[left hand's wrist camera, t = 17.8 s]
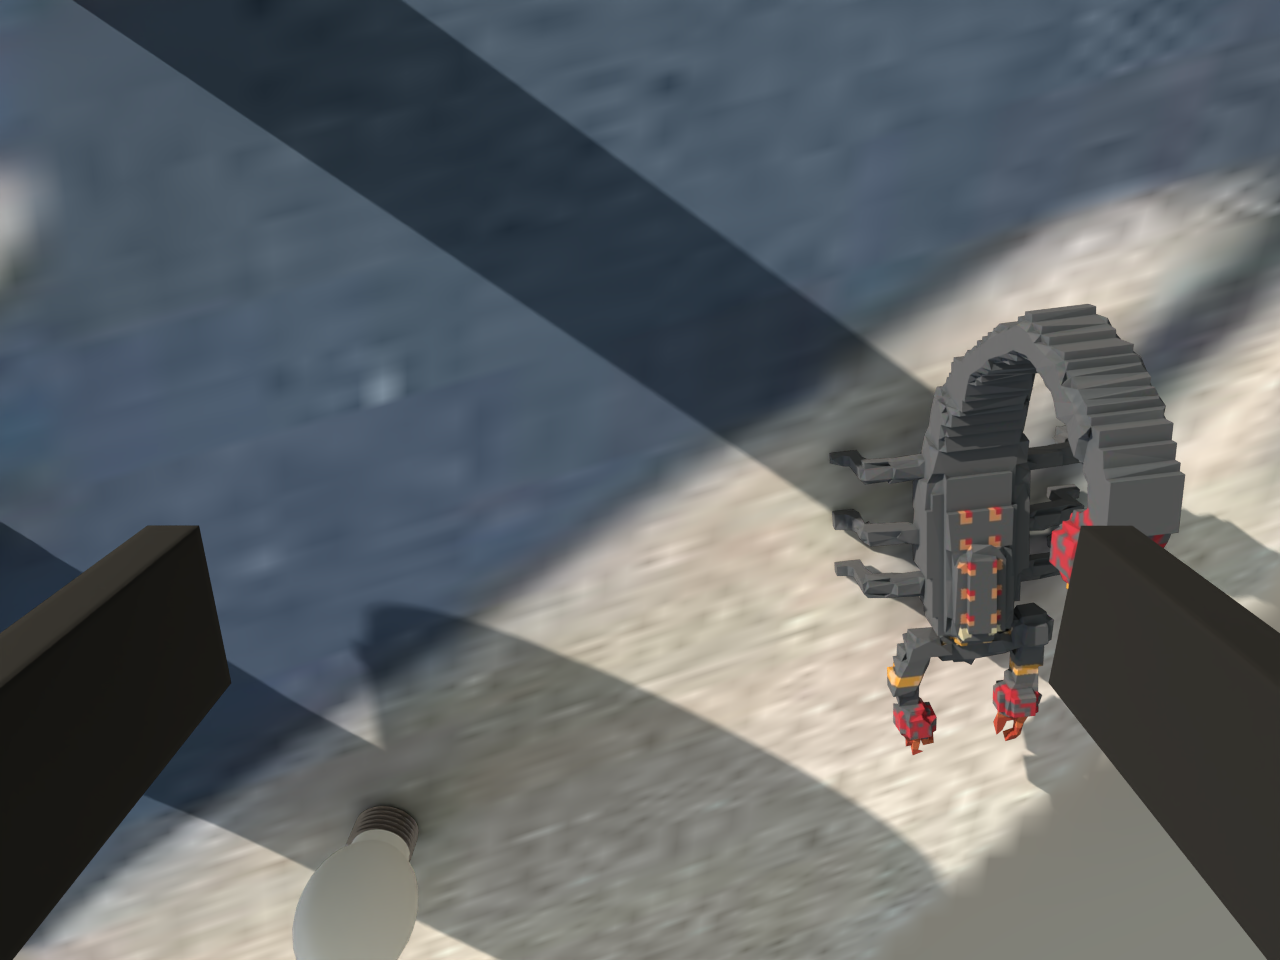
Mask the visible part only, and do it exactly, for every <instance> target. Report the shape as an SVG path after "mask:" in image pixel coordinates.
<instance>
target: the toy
mask: <svg viewBox="0 0 1280 960" xmlns="http://www.w3.org/2000/svg"><path fill="white" fill-rule="evenodd" d="M1133 346H1134V344H1132V343H1129V342H1126V341H1124V340H1121V339H1120V338H1119V336H1118V335H1117V334H1116V329H1115V328H1113V327H1112V326H1111V324H1110V322H1109V320H1108V318H1106V317H1103V316H1100V315H1097V314H1096V306H1093V305H1090V304H1084V305H1075V306H1067V307H1059V308H1051V309H1042V310H1034V311H1026V312H1025V316H1020V317H1018V321H1017V322H1009V323H1001V324H999V325H998V326H997V327H996V328H994V330H993V332H988V336H984V337H982V340H979V341H977V346H974V347H973V348H972V350H967V352H966V354H965V356H962V357H954V362H951V373H949V377H947V380H946V383H945V384H944V385H943V386H940V387H937V388H936V391H935V394H934V398H933V403H932V407H931V413H930V421H929V426H928V429H927V431H926V433H925V436H924V441H923V446H922V451H921V452H922V453H921V454H915V455H909V456H903V457H896V458H880V459H865V458H863V457H862V456H861V455H860V454H859V453H858V451H857V450H852V451H843V452H835V453H830V463H832V464H837V465H841V466H849V467H850V468H851V469H852V470H853V471H854V473H855V474H856V475H857V476H858V478H859V479H860V480H861V481H862V482H863V483H864V484H872V483H880V482H888V483H889V484H892V483H898V482H904V481H910V480H913V508H914V520H913V523H909V522H896V523H878V524H870V523H869V522H867V523H865V524H864V522H863V520H862V518H861V516H860V514H859V512H857V511H855V510H854V509H849V510H840V511H832V517H833V527H834V529H835V530H853V531H854V532H856V533H857V534H858V536H859V538H860V539H861V540H862V541H863V542H865V543H866V544H868V545H869V546H871V547H872V546H883V545H893V544H904V543H909V544H913V560H914V562H915V563H916V564H917V566H918V567H919V569H920V570H921V571H916V572H908V573H878V574H873V573H871V572H870V571H869V570H867V569H866V568H865V566H864V565H863V563H862V562H861V560H851V561H842V562H835V572H836V575H837V576H853V577H854V578H855V580H856V581H857V583H858V585H859V586H860V588H861V590H862V592H863V593H864V594H865V595H866V596H867V597H868V598H892V597H910V596H920V599H921V601H922V602H923V604H924V612H925V616H926V618H927V620H928V621H929V623H930V624H931V626H932V627H930V628H916V629H908V631H907V633H905V634H903V639H904V643H900V644H897V656H893V660H894V663H893V667H887V681H888V687H889V689H890V691H891V693H892V695H893V697H896V698H897V701H898V704H894V703H893V722H894V724H895V725H896V727H897V728H898V730H899V731H900V733H901V735H903V736H904V737H905V738H906V746H910V745H911V749H912V754H913V755H915V754H917V753H920V752H922V751H921V750H918V748H919V744H920V740H921V741H922V743H923V745H926V744H930V743H934V741H933V732H934V731H936V718H937V717H936V715H935V713H934V711H933V709H932V707H931V705H930V703H929V702H923V701H922V699H921V698H920V697H919V685H920V683H921V681H922V678H923V676H924V673H925V671H926V669H927V667H928V665H929V662H930V658H931V657H939V658H940V659H941V660H942V661H949V660H953V662H963V661H964V662H967V663H969V664H971V665H972V663H973V661H974V659H975V658H980V657H986V656H991V655H997V654H1002V653H1006V652H1008V651H1010V664H1009V669H1008V670H1006V671H1004V680H999V681H996V684H995V685H994V686H993V704H994V706H995V707H996V709H997V710H998V713H997V715H996V717H995V719H994V726H995V730H996V734H998V733H999V732H1000V731H1002V729H1003V727H1004V725H1005V723H1006V721H1009V720H1014V724H1013V728H1011V729H1008V730H1005V731H1003V734H1004V738H1005V741H1007V740H1011V739H1014V738H1016V737H1017V736H1019V735H1020V734H1021V730H1022V727H1023V723H1024V722H1025V720H1026V719H1027V717H1028V716H1035V714H1036V713H1037V712H1038V704H1039V702H1040V699H1041V697H1042V695H1041V694H1040V693H1039V692H1038V667H1039V666H1043V656H1044V645H1046V644H1048V641H1050V640H1051V638H1052V630H1053V622H1054V620H1053V619H1052V618H1051V617H1050V616H1049V615H1047V612H1046V611H1044V610H1043V609H1042V608H1040V607H1039V606H1038V605H1036V604H1035V603H1029V604H1023V605H1017V606H1016V607H1015V608H1014V601H1020V584H1021V582H1022V581H1028V580H1035V579H1041V578H1045V577H1050V576H1055V575H1059V574H1061V576H1062V579H1063V580H1064V581H1065V582H1067V586H1066V588H1067V589H1068V586H1069V582H1070V577H1071V572H1072V567H1073V562H1074V557H1075V552H1076V547H1077V543H1078V538H1079V533H1080V528H1081V526H1134V527H1135V528H1136V529H1138V530H1139V531H1141V532H1142V533H1143V534H1145V535H1146V536H1147V537H1149V538H1150V539H1151V540H1153V541H1154V542H1156V543H1157V544H1158V545H1160V546H1161V547H1162V548H1164V547H1165V545H1166V544H1167V542H1168V540H1169V538H1170V535H1171V533H1178V532H1179V524H1180V515H1181V507H1182V498H1183V489H1184V481H1185V474H1183V473H1182V472H1180V464H1181V463H1180V462H1178V461H1176V460H1175V457H1176V448H1177V443H1176V442H1174V441H1172V432H1173V422H1170V421H1168V420H1166V418H1165V416H1164V412H1165V407H1166V405H1165V404H1164V403H1163V401H1162V400H1161V398H1160V397H1159V395H1158V393H1157V391H1156V389H1155V387H1152V385H1151V383H1150V380H1151V377H1150V375H1149V374H1148V372H1147V370H1146V368H1145V365H1144V363H1143V360H1142V358H1141V357H1140V356H1139V355H1138V354H1136V353H1135V352H1134V351H1133ZM1035 373H1039V374H1040V375H1041V377H1042V379H1043V381H1044V383H1045V385H1046V387H1047V388H1048V389H1049V390H1050V391H1051V394H1052V397H1053V401H1054V406H1055V412H1056V418H1058V419H1059V420H1060V421H1062V422H1063V423H1065V424H1066V425H1067V426H1059V427H1056V436H1055V437H1053V438H1054V439H1055V443H1056V444H1052V445H1048V446H1041V447H1032V448H1029V440H1028V438H1027V437H1026V436H1025V434H1024V433H1023V430H1024V426H1025V421H1026V417H1027V412H1028V406H1029V401H1030V397H1031V392H1032V387H1033V383H1034V378H1035ZM1080 462H1082V463H1083V474H1084V476H1085V478H1086V480H1087V483H1088V500H1087V509H1084V506H1083V505H1082V504H1081V503H1079V502H1078V501H1077V500H1076V498H1078V497H1079V491H1080V489H1079V488H1078V487H1076V486H1075V485H1074V484H1071V485H1062V486H1053V487H1047V497H1048V498H1049V499H1050V500H1051V502H1045V503H1039V504H1033V505H1030V470H1034V469H1041V468H1048V467H1055V466H1062V465H1068V464H1074V463H1080ZM1055 525H1059V528H1057V529H1055V530H1054V531H1052V535H1049V536H1047V542H1048V547H1049V548H1050V552H1049V553H1042V554H1034V555H1029V531H1037V530H1045V529H1047V528H1049V527H1051V526H1055Z"/></svg>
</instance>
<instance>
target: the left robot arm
mask: <svg viewBox="0 0 1280 960" xmlns="http://www.w3.org/2000/svg"><path fill="white" fill-rule="evenodd" d="M230 684H231V679H230V674H229V669H228V665H227V660H226V655H225V650H224V645H223V640H222V635H221V630H220V625H219V621H218V616H217V611H216V606H215V601H214V596H213V591H212V586H211V582H210V577H209V572H208V567H207V562H206V557H205V552H204V547H203V543H202V538H201V533H200V528H199V526H146V527H145V528H144V529H142V530H141V531H139V532H138V533H137V534H135V535H134V536H133V537H131V538H130V539H129V540H127V541H126V542H124V543H123V544H122V545H120V546H119V547H118V548H116V549H115V550H113V551H112V552H111V553H109V554H108V555H107V556H105V557H104V558H103V559H101V560H100V561H98V562H97V563H96V564H94V565H93V566H92V567H90V568H89V569H88V570H86V571H85V572H83V573H82V574H81V575H79V576H78V577H77V578H75V579H74V580H72V581H71V582H70V583H68V584H67V585H66V586H64V587H63V588H62V589H60V590H59V591H57V592H56V593H55V594H53V595H52V596H51V597H49V598H48V599H47V600H45V601H44V602H42V603H41V604H40V605H38V606H37V607H36V608H34V609H33V610H31V611H30V612H29V613H27V614H26V615H25V616H23V617H22V618H21V619H19V620H18V621H16V622H15V623H14V624H12V625H11V626H10V627H8V628H7V629H5V630H4V631H3V632H1V633H0V960H13V959H14V957H15V956H16V955H17V953H18V952H19V951H20V950H21V948H22V947H23V946H24V945H25V943H26V942H27V941H28V940H29V938H30V937H31V936H32V934H33V933H34V932H35V931H36V929H37V928H38V927H39V926H40V924H41V923H42V922H43V921H44V919H45V918H46V917H47V916H48V914H49V913H50V912H51V910H52V909H53V908H54V907H55V905H56V904H57V903H58V902H59V900H60V899H61V898H62V897H63V895H64V894H65V893H66V891H67V890H68V889H69V888H70V886H71V885H72V884H73V883H74V881H75V880H76V879H77V878H78V876H79V875H80V874H81V872H82V871H83V870H84V869H85V867H86V866H87V865H88V864H89V862H90V861H91V860H92V859H93V857H94V856H95V855H96V853H97V852H98V851H99V850H100V848H101V847H102V846H103V845H104V843H105V842H106V841H107V840H108V838H109V837H110V836H111V834H112V833H113V832H114V831H115V829H116V828H117V827H118V826H119V824H120V823H121V822H122V821H123V819H124V818H125V817H126V815H127V814H128V813H129V812H130V810H131V809H132V808H133V807H134V805H135V804H136V803H137V802H138V800H139V799H140V798H141V796H142V795H143V794H144V793H145V791H146V790H147V789H148V788H149V786H150V785H151V784H152V783H153V781H154V780H155V779H156V778H157V776H158V775H159V774H160V772H161V771H162V770H163V769H164V767H165V766H166V765H167V764H168V762H169V761H170V760H171V759H172V757H173V756H174V755H175V753H176V752H177V751H178V750H179V748H180V747H181V746H182V745H183V743H184V742H185V741H186V740H187V738H188V737H189V736H190V734H191V733H192V732H193V731H194V729H195V728H196V727H197V726H198V724H199V723H200V722H201V721H202V719H203V718H204V717H205V715H206V714H207V713H208V712H209V710H210V709H211V708H212V707H213V705H214V704H215V703H216V702H217V700H218V699H219V698H220V696H221V695H222V694H223V693H224V691H225V690H226V689H227V688H228V686H229V685H230ZM1049 684H1050V685H1051V686H1052V688H1053V689H1054V690H1055V691H1056V693H1057V694H1058V695H1059V696H1060V698H1061V699H1062V700H1063V702H1064V703H1065V704H1066V705H1067V707H1068V708H1069V709H1070V710H1071V712H1072V713H1073V714H1074V715H1075V717H1076V718H1077V719H1078V721H1079V722H1080V723H1081V724H1082V726H1083V727H1084V728H1085V729H1086V731H1087V732H1088V733H1089V734H1090V736H1091V737H1092V738H1093V740H1094V741H1095V742H1096V743H1097V745H1098V746H1099V747H1100V748H1101V750H1102V751H1103V752H1104V753H1105V755H1106V756H1107V757H1108V759H1109V760H1110V761H1111V762H1112V764H1113V765H1114V766H1115V767H1116V769H1117V770H1118V771H1119V772H1120V774H1121V775H1122V776H1123V778H1124V779H1125V780H1126V781H1127V783H1128V784H1129V785H1130V786H1131V788H1132V789H1133V790H1134V791H1135V793H1136V794H1137V795H1138V796H1139V798H1140V799H1141V800H1142V802H1143V803H1144V804H1145V805H1146V807H1147V808H1148V809H1149V810H1150V812H1151V813H1152V814H1153V815H1154V817H1155V818H1156V819H1157V821H1158V822H1159V823H1160V824H1161V826H1162V827H1163V828H1164V829H1165V831H1166V832H1167V833H1168V834H1169V836H1170V837H1171V838H1172V840H1173V841H1174V842H1175V843H1176V845H1177V846H1178V847H1179V848H1180V850H1181V851H1182V852H1183V853H1184V855H1185V856H1186V857H1187V859H1188V860H1189V861H1190V862H1191V864H1192V865H1193V866H1194V867H1195V869H1196V870H1197V871H1198V872H1199V874H1200V875H1201V876H1202V878H1203V879H1204V880H1205V881H1206V883H1207V884H1208V885H1209V886H1210V888H1211V889H1212V890H1213V891H1214V893H1215V894H1216V895H1217V896H1218V898H1219V899H1220V900H1221V902H1222V903H1223V904H1224V905H1225V907H1226V908H1227V909H1228V910H1229V912H1230V913H1231V914H1232V916H1233V917H1234V918H1235V919H1236V921H1237V922H1238V923H1239V924H1240V926H1241V927H1242V928H1243V929H1244V931H1245V932H1246V933H1247V935H1248V936H1249V937H1250V938H1251V940H1252V941H1253V942H1254V943H1255V945H1256V946H1257V947H1258V948H1259V950H1260V951H1261V952H1262V953H1263V955H1264V956H1265V957H1266V959H1267V960H1280V633H1279V632H1277V631H1276V630H1275V629H1273V628H1272V627H1270V626H1269V625H1268V624H1266V623H1265V622H1264V621H1262V620H1261V619H1259V618H1258V617H1257V616H1255V615H1254V614H1253V613H1251V612H1250V611H1249V610H1247V609H1246V608H1244V607H1243V606H1242V605H1240V604H1239V603H1238V602H1236V601H1235V600H1233V599H1232V598H1231V597H1229V596H1228V595H1227V594H1225V593H1224V592H1223V591H1221V590H1220V589H1218V588H1217V587H1216V586H1214V585H1213V584H1212V583H1210V582H1209V581H1208V580H1206V579H1205V578H1203V577H1202V576H1201V575H1199V574H1198V573H1197V572H1195V571H1194V570H1192V569H1191V568H1190V567H1188V566H1187V565H1186V564H1184V563H1183V562H1182V561H1180V560H1179V559H1177V558H1176V557H1175V556H1173V555H1172V554H1171V553H1169V552H1168V551H1167V550H1165V549H1164V548H1162V547H1161V546H1160V545H1158V544H1157V543H1156V542H1154V541H1153V540H1151V539H1150V538H1149V537H1147V536H1146V535H1145V534H1143V533H1142V532H1141V531H1139V530H1138V529H1136V528H1135V527H1134V526H1081V528H1080V533H1079V538H1078V543H1077V547H1076V552H1075V557H1074V562H1073V567H1072V572H1071V577H1070V582H1069V586H1068V591H1067V596H1066V601H1065V606H1064V611H1063V616H1062V621H1061V625H1060V630H1059V635H1058V640H1057V645H1056V650H1055V655H1054V660H1053V665H1052V669H1051V674H1050V679H1049Z"/></svg>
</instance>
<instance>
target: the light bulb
mask: <svg viewBox="0 0 1280 960" xmlns="http://www.w3.org/2000/svg"><path fill="white" fill-rule="evenodd" d="M418 833H419V831H418V826H417V823H416V822H415V820H414V819H413V818H412V817H411V816H410V815H409V814H407V813H406V812H404V811H402V810H399V809H396V808H393V807H387V806H379V807H373V808H370V809H367V810H365V811H364V812H362V813H361V814H360V815H359V816H358V818H357V820H356V823H355V825H354V827H353V829H352V832H351V834H350V836H349V838H348V841H347V843H346V847H344V848H341V849H339V850H338V851H337V852H335V853H334V854H333V855H331V856H330V857H329V858H328V859H326V860H325V861H324V862H323V863H322V864H321V866H320V867H319V868H318V869H317V870H316V871H315V873H314V874H313V875H312V876H311V878H310V880H309V881H308V883H307V885H306V887H305V888H304V890H303V892H302V894H301V897H300V899H299V902H298V905H297V908H296V912H295V917H294V923H293V929H292V931H293V949H294V953H295V956H296V960H397V959H398V958H399V956H400V954H401V953H402V951H403V949H404V948H405V946H406V944H407V943H408V941H409V938H410V936H411V933H412V931H413V928H414V924H415V921H416V916H417V911H418V886H417V881H416V876H415V872H414V870H413V868H412V867H411V865H410V860H411V856H412V854H413V851H414V847H415V845H416V842H417V838H418Z"/></svg>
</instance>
